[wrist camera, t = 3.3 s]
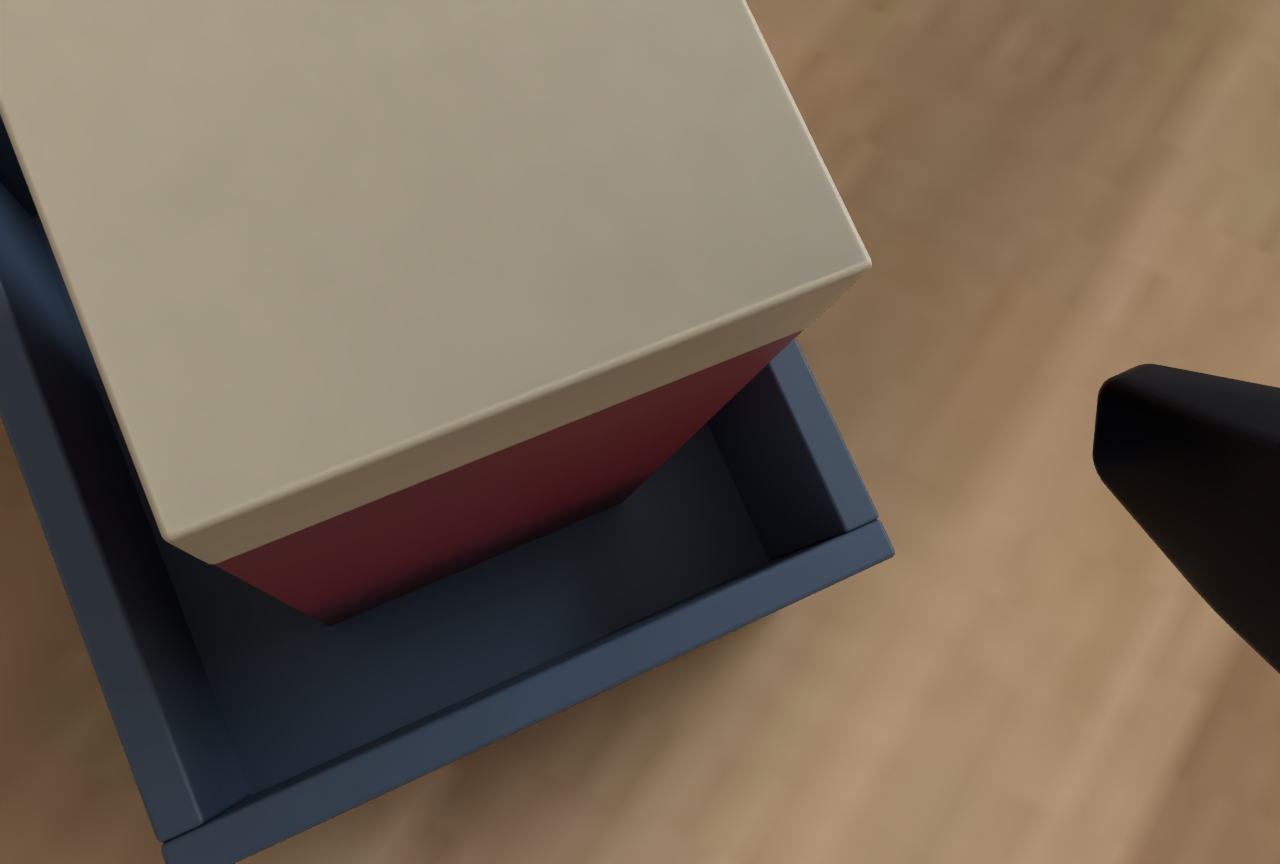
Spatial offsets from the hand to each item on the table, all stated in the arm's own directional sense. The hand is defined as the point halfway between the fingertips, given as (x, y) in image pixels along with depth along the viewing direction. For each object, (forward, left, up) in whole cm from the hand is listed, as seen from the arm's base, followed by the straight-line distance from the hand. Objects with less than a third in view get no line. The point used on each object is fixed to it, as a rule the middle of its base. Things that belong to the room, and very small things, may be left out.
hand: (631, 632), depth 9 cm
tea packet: (+4, +3, -11) cm, 12 cm away
